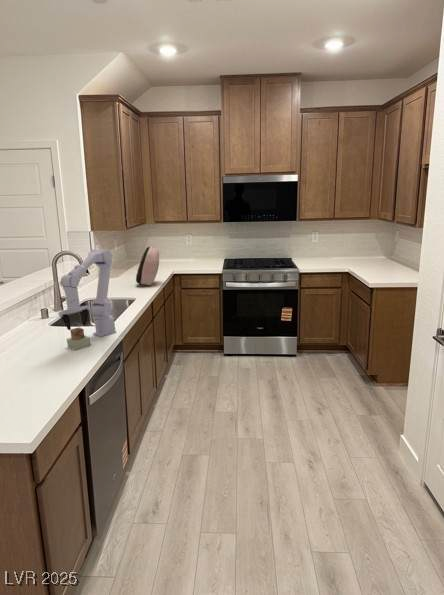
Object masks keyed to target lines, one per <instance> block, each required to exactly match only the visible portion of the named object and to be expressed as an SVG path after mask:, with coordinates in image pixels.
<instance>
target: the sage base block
mask: <svg viewBox="0 0 444 595" xmlns="http://www.w3.org/2000/svg"><path fill="white" fill-rule="evenodd" d="M84 337H85V338H83V339H79V340H74V339H72V338H71V337H69V338H66V344H67V347H68V348H70V349H71V350H74V351H78V350H81V349H84V348H88V347H90V346H92V342H91V337H89V336H87V335H85V334H84Z"/></svg>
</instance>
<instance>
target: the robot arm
mask: <svg viewBox="0 0 444 595" xmlns="http://www.w3.org/2000/svg"><path fill="white" fill-rule="evenodd" d="M87 255H88V256H87V257H86V258H85V259H84V261H82V263H81V264H77V265H74V268H73V269H71V270H70V271H69V272H68V274H65V275H63V276H62V277H61V279H60V282H59V283H60V286H61V287H62V288H63V291H64V294H65V295H64V296H65V301H66V302H65V303H66V308H67V309H65V310H61V311H59V312H58V314H57V315H58V317H60V318H61V319H62V321H63V322H64V324H65V326H66V329H67V330H68V331H70V330H71V327H72V326H71V320H70V319H71V317H70V316H69V315H73V314H75V313H79V315H80V319H81V324H82V326H85V327H86V325H87V319H88V316H89V314H90V316H92V318H93V320H94V325H95V326H94V328H95V332H93V333H92V334H93V335H95V336H97V337H100V338H101V337H105V336H108V335H110V334H115V333H117V331H116V325H115V319H114V317H113V316H112V315H111V314H112V308H111V306H112V303H111V302H110V301H109V300H108V292H109V286H110V278H111V277H110V276H111V266H112V259H113V254H112V252H111V251H110V250H109V249H93V248H92V249H91V250H90V251H89V252H88V254H87ZM93 264H95V265H96V266H97V267H98V268H99V272H98V280H97V282H98V283H97V290H96V298H95V299H94V300H92V301H91V305H88V304H87V305H80V297H79V290H78V286H79V285H80V281H81V280H82V278H83V277H85V275H86V274H87V270H88V269H89V268H90V267H91V266H93Z"/></svg>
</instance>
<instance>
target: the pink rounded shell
mask: <svg viewBox="0 0 444 595" xmlns="http://www.w3.org/2000/svg"><path fill="white" fill-rule="evenodd" d="M159 266H160V252H159V249H158V248H157V247H154V246H148V247H146V248H145V250H144V252H143V254H142V256H141V259H140V262H139V265H138V268H137V271H136V272H137V273H136V276H135V282H136V283H137V284H138V285H144V286H152V285H153V284H154V282H155V279H156V276H157V274H158V271H159V268H160V267H159Z"/></svg>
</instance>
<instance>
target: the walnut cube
mask: <svg viewBox="0 0 444 595" xmlns="http://www.w3.org/2000/svg"><path fill="white" fill-rule="evenodd" d="M69 331H70V336H71V337H70V338H72V339H74V340H79V339H83V338H85V337H84V335H85V331H84V328H82V327H76V328H72V329H71V330H69Z"/></svg>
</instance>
